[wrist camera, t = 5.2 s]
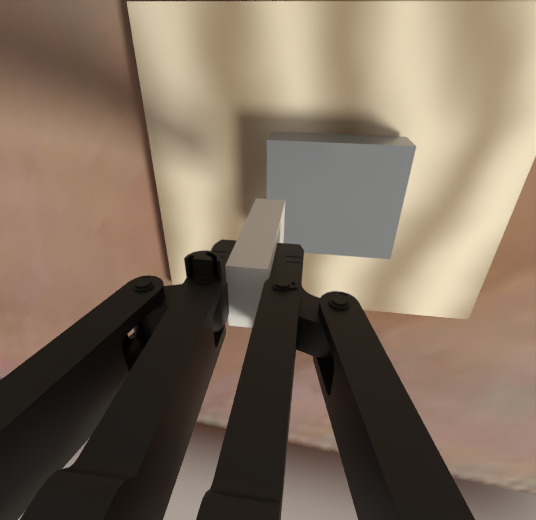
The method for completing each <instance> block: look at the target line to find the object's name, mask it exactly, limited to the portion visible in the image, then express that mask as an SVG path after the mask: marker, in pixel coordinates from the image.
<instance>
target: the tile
mask: <svg viewBox="0 0 536 520" xmlns="http://www.w3.org/2000/svg"><path fill="white" fill-rule="evenodd" d="M415 150H416V145H415V144H414V143H413V142H411V141H410V140H409V139H408V138H407V137H403V136H377V135H351V134H325V133H300V132H274V131H272V133H271V135H270V136H269V138H268V139H267V188H266V199H274V200H285V218H284V242H283V243H288V244H300V245H301V247H302V248H303V249H304V253H314V254H327V255H340V256H353V257H366V258H380V259H391V254H392V250H393V246H394V241H395V237H396V233H397V228H398V224H399V220H400V215H401V211H402V207H403V202H404V198H405V194H406V189H407V185H408V180H409V176H410V172H411V167H412V163H413V159H414V154H415Z"/></svg>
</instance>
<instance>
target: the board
mask: <svg viewBox="0 0 536 520" xmlns="http://www.w3.org/2000/svg"><path fill="white" fill-rule="evenodd" d="M127 7H128V13H129V19H130V26H131V32H132V38H133V44H134V50H135V57H136V63H137V69H138V75H139V81H140V87H141V94H142V100H143V106H144V112H145V118H146V125H147V131H148V137H149V143H150V149H151V156H152V162H153V168H154V174H155V180H156V187H157V193H158V199H159V205H160V211H161V218H162V224H163V230H164V236H165V242H166V249H167V255H168V261H169V267H170V273H171V280H172V285H178V284H183V283H184V281H185V279H186V278H187V277H186V270H185V262H184V258H185V257H186V256H187V255H188V254H190V253H193V252H196V251H206V250H208V251H211V249H212V247H213V246H214V244H216V243H217V242H219V241H220V240H222V239H224V240H237V239H238V237H239V234H240V232H241V230H242V228H243V226H244V224H245V221H246V219H247V217H248V215H249V213H250V210H251V208H252V206H253V204H254V202H255V200H256V198H258V199H266V188H267V139H268V138H269V136H270V135H271V133H272V131H274V132H300V133H325V134H351V135H377V136H403V137H407V138H408V139H409V140H410V141H411V142H413V143H414V144H415V145H416V150H415V154H414V159H413V163H412V167H411V172H410V176H409V180H408V185H407V189H406V194H405V198H404V202H403V207H402V211H401V215H400V220H399V224H398V228H397V233H396V237H395V241H394V246H393V250H392V254H391V259H380V258H366V257H353V256H340V255H327V254H314V253H304V260H303V273H302V287H303V289H304V290H305V291H306V292H308V293H309V294H311V295H313V296H316V297H319V298H321V296H322V295H323V294H325V293H327V292H332V291H340V292H345V293H348V294H350V295H352V296H353V297H355V298H356V299H357V300H358V302H359V303H360V305H361V307H362V309H363V310H372V311H383V312H394V313H405V314H415V315H426V316H437V317H448V318H459V319H469V316H470V314H471V311H472V309H473V307H474V304H475V302H476V299H477V297H478V294H479V292H480V290H481V287H482V285H483V282H484V280H485V277H486V275H487V273H488V270H489V268H490V265H491V263H492V260H493V258H494V256H495V253H496V251H497V248H498V246H499V243H500V241H501V238H502V236H503V234H504V231H505V229H506V226H507V224H508V221H509V219H510V217H511V214H512V212H513V209H514V207H515V204H516V202H517V200H518V197H519V195H520V192H521V190H522V187H523V185H524V183H525V180H526V178H527V175H528V173H529V170H530V168H531V166H532V163H533V161H534V158H535V156H536V0H506V1H127Z"/></svg>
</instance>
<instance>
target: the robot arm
mask: <svg viewBox="0 0 536 520" xmlns="http://www.w3.org/2000/svg"><path fill="white" fill-rule="evenodd" d="M284 218H285V200H274V199H258V198H256V200H255V202H254V204H253V206H252V208H251V210H250V213H249V215H248V217H247V219H246V221H245V224H244V226H243V228H242V230H241V232H240V234H239V237H238V239H237V240H224V239H222V240H220V241H219V242H217V243H216V244H214V246H213V247H212V249H211V251H208V250H206V251H196V252H193V253H190V254H188V255H187V256H186V257H185V258H184V262H185V270H186V277H187V278H186V279H185V281H184V283H183V284H178V285H170V286H164V284H163V281H162V280H161V278H158V277H156V276H141V277H138V278H135V279H133V280H131V281H130V282H128V283H127V284H125V285H124V286H123V287H122V288H120V289H119V290H118V291H116V292H115V293H114V294H112V295H111V296H110V297H108V298H107V299H106V300H105V301H103V302H102V303H101V304H99V305H98V306H97V307H95V308H94V309H93V310H91V311H90V312H89V313H88V314H86V315H85V316H84V317H82V318H81V319H80V320H78V321H77V322H76V323H75V324H73V325H72V326H71V327H69V328H68V329H67V330H65V331H64V332H63V333H61V334H60V335H59V336H58V337H56V338H55V339H54V340H52V341H51V342H50V343H48V344H47V345H46V346H44V347H43V348H42V349H41V350H39V351H38V352H37V353H35V354H34V355H33V356H31V357H30V358H29V359H28V360H26V361H25V362H24V363H22V364H21V365H20V366H18V367H17V368H16V369H14V370H13V371H12V372H11V373H9V374H8V375H7V376H5V377H4V378H3V379H1V380H0V520H18V519H19V517H20V516H21V515H22V514H23V513H24V514H23V516H22V517H21V519H20V520H163V518H164V515H165V512H166V509H167V506H168V503H169V500H170V497H171V494H172V491H173V488H174V485H175V482H176V479H177V476H178V473H179V471H180V467H181V465H182V462H183V459H184V456H185V453H186V450H187V447H188V444H189V441H190V438H191V435H192V432H193V429H194V426H195V423H196V420H197V417H198V415H199V412H200V409H201V406H202V403H203V400H204V397H205V394H206V391H207V388H208V385H209V382H210V379H211V376H212V373H213V370H214V367H215V364H216V361H217V359H218V356H219V353H220V350H221V347H222V344H223V341H224V338H225V335H226V326H225V323H226V320H227V317H228V320H229V325H230V326H240V327H250V328H252V332H251V336H250V340H249V344H248V347H247V351H246V355H245V359H244V363H243V367H242V371H241V375H240V379H239V382H238V386H237V390H236V394H235V398H234V402H233V406H232V410H231V414H230V417H229V421H228V425H227V429H226V433H225V437H224V441H223V445H222V449H221V452H220V456H219V460H218V465H217V468H216V472H215V476H214V479H213V483H212V486H211V488H210V490H208V491H207V492H206V493H205V495H204V497H203V500H202V502H201V505H200V509H199V512H198V515H197V519H196V520H281V509H282V497H283V487H284V475H285V465H286V453H287V443H288V432H289V421H290V410H291V399H292V388H293V377H294V366H295V357H296V350H299V351H302V352H304V353H307V354H309V355H312V356H313V361H314V365H315V368H316V372H317V375H318V379H319V383H320V386H321V390H322V393H323V397H324V400H325V404H326V407H327V411H328V414H329V418H330V421H331V425H332V428H333V432H334V436H335V439H336V443H337V446H338V450H339V453H340V457H341V460H342V464H343V467H344V471H345V474H346V478H347V481H348V485H349V489H350V492H351V495H352V499H353V503H354V506H355V510H356V513H357V517H358V520H475V519H474V517H473V515H472V513H471V511H470V509H469V508H468V506H467V504H466V502H465V500H464V498H463V496H462V494H461V492H460V491H459V489H458V487H457V485H456V483H455V482H454V479H453V477H452V476H451V474H450V472H449V470H448V468H447V466H446V464H445V462H444V461H443V459H442V457H441V455H440V453H439V451H438V449H437V447H436V446H435V444H434V442H433V440H432V438H431V436H430V434H429V432H428V431H427V429H426V427H425V425H424V423H423V421H422V419H421V417H420V416H419V414H418V412H417V410H416V408H415V406H414V404H413V403H412V401H411V399H410V397H409V395H408V393H407V391H406V389H405V388H404V386H403V384H402V382H401V380H400V378H399V376H398V374H397V373H396V371H395V369H394V367H393V365H392V363H391V361H390V359H389V358H388V356H387V354H386V352H385V350H384V348H383V346H382V344H381V343H380V341H379V339H378V337H377V335H376V333H375V331H374V329H373V328H372V326H371V324H370V322H369V320H368V318H367V316H366V314H365V313H364V311H363V309H362V307H361V305H360V303H359V302H358V300H357V299H356V298H355V297H353V296H352V295H350V294H348V293H345V292H340V291H332V292H327V293H325V294H323V295H322V296H321V298H319V297H316V296H313V295H311V294H309V293H308V292H306V291H305V290H304V289H303V287H302V273H303V260H304V249H303V248H302V247H301V245H300V244H288V243H283V242H284ZM133 328H134V331H135V332H134V333H133V334H132V335H131V336H129V337H128V335H127V334H128V333H129V332H130V331H131V330H132V329H133ZM90 436H91V437H90ZM89 437H90V439H89ZM88 439H89V440H88ZM87 440H88V442H87V444H86V445H85V447H84V449H83V450H82V452H81V454H80V455H79V457H78V458H77V460H76V461H75V463H74V464H73V465H71V466H70V467H69V468H65V469H62V468H63V467H64V466H65V465H66V463H68V461H69V460H70V459H71V458H72V457H73V456H74V455H75V453H76V452H77V451H78V450H79V449H80V448H81V446H82V445H83V444H84V443H85V442H86V441H87Z"/></svg>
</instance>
